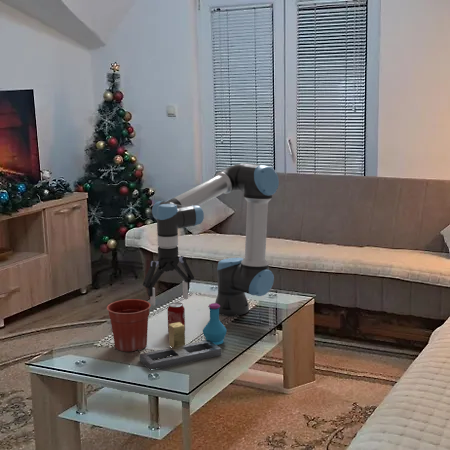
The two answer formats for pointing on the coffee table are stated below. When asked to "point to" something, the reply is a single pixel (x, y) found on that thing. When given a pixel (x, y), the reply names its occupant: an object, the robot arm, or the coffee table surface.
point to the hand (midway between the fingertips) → (169, 301)
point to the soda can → (176, 313)
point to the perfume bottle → (214, 326)
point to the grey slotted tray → (180, 354)
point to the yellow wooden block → (176, 334)
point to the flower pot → (129, 323)
